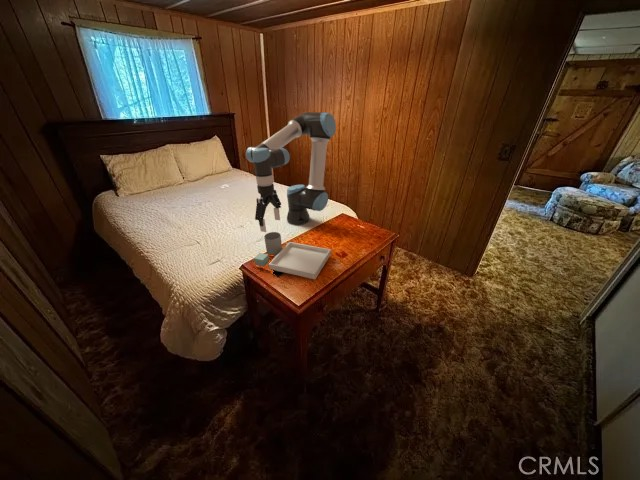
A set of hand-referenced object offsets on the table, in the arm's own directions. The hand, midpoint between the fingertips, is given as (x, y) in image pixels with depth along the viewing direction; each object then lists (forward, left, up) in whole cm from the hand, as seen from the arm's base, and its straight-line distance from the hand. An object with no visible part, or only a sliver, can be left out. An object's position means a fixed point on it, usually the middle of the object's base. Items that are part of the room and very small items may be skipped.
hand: (270, 225), depth 127 cm
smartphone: (+12, +7, -17) cm, 22 cm away
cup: (0, 0, -16) cm, 16 cm away
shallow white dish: (+5, +18, -16) cm, 25 cm away
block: (+12, 0, -16) cm, 20 cm away
